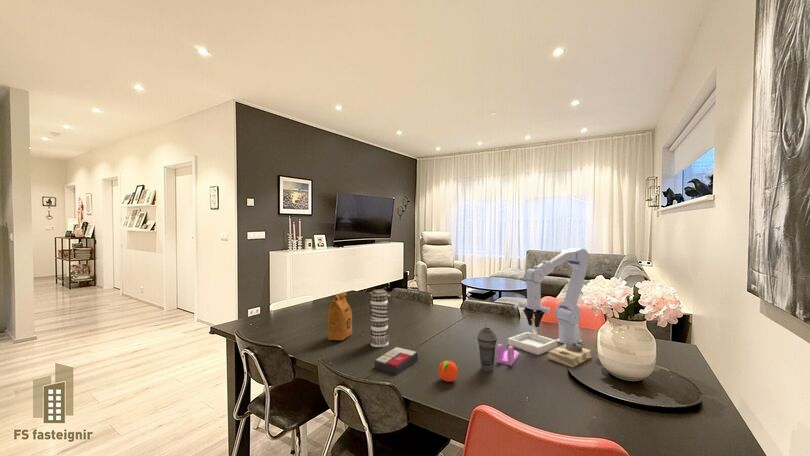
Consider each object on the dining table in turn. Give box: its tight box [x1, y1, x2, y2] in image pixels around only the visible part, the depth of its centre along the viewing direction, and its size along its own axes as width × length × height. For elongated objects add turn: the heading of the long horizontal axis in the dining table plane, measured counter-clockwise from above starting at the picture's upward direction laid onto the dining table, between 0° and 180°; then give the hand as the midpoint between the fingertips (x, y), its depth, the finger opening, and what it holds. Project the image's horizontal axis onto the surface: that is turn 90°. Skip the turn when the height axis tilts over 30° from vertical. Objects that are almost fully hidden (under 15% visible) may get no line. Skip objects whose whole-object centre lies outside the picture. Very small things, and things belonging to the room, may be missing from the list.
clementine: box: [437, 359, 459, 383], centre depth 114 cm, size 8×7×7 cm
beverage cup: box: [477, 315, 497, 372], centre depth 124 cm, size 7×7×20 cm
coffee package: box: [327, 291, 353, 342], centre depth 160 cm, size 10×12×22 cm
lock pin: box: [531, 317, 539, 337], centre depth 145 cm, size 3×3×8 cm
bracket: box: [496, 343, 520, 366], centre depth 133 cm, size 13×6×7 cm, turn 145°
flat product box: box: [374, 346, 419, 375], centre depth 129 cm, size 11×4×15 cm
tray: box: [507, 331, 558, 356], centre depth 147 cm, size 15×15×3 cm
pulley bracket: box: [547, 342, 592, 368], centre depth 133 cm, size 15×10×6 cm, turn 126°
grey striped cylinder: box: [368, 289, 390, 348], centre depth 152 cm, size 9×9×25 cm
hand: (534, 325), depth 145 cm, fingers closed on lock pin, 3 cm apart
